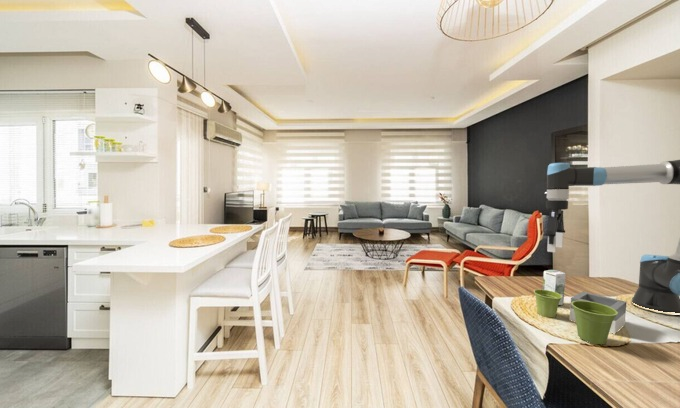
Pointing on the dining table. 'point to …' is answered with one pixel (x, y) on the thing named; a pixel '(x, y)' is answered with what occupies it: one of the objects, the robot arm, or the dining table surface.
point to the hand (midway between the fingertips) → (554, 249)
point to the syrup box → (554, 282)
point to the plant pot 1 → (547, 302)
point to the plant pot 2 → (593, 321)
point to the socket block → (613, 303)
